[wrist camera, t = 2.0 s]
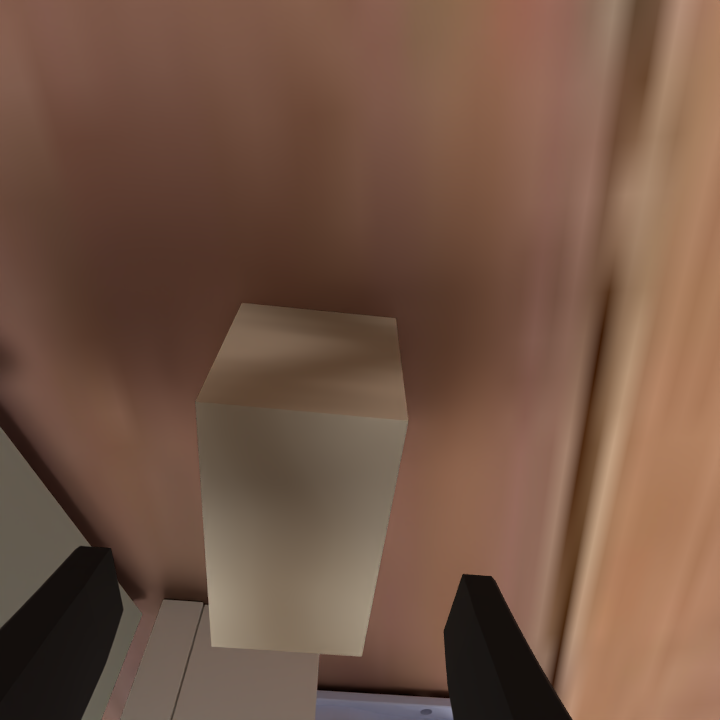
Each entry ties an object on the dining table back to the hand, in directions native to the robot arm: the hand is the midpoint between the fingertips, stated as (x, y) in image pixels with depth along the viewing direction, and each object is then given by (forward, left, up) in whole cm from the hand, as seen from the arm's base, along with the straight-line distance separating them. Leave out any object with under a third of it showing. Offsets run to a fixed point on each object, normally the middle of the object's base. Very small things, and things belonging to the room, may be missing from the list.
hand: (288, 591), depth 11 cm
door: (+7, +4, -5) cm, 10 cm away
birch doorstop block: (0, 0, -6) cm, 6 cm away
